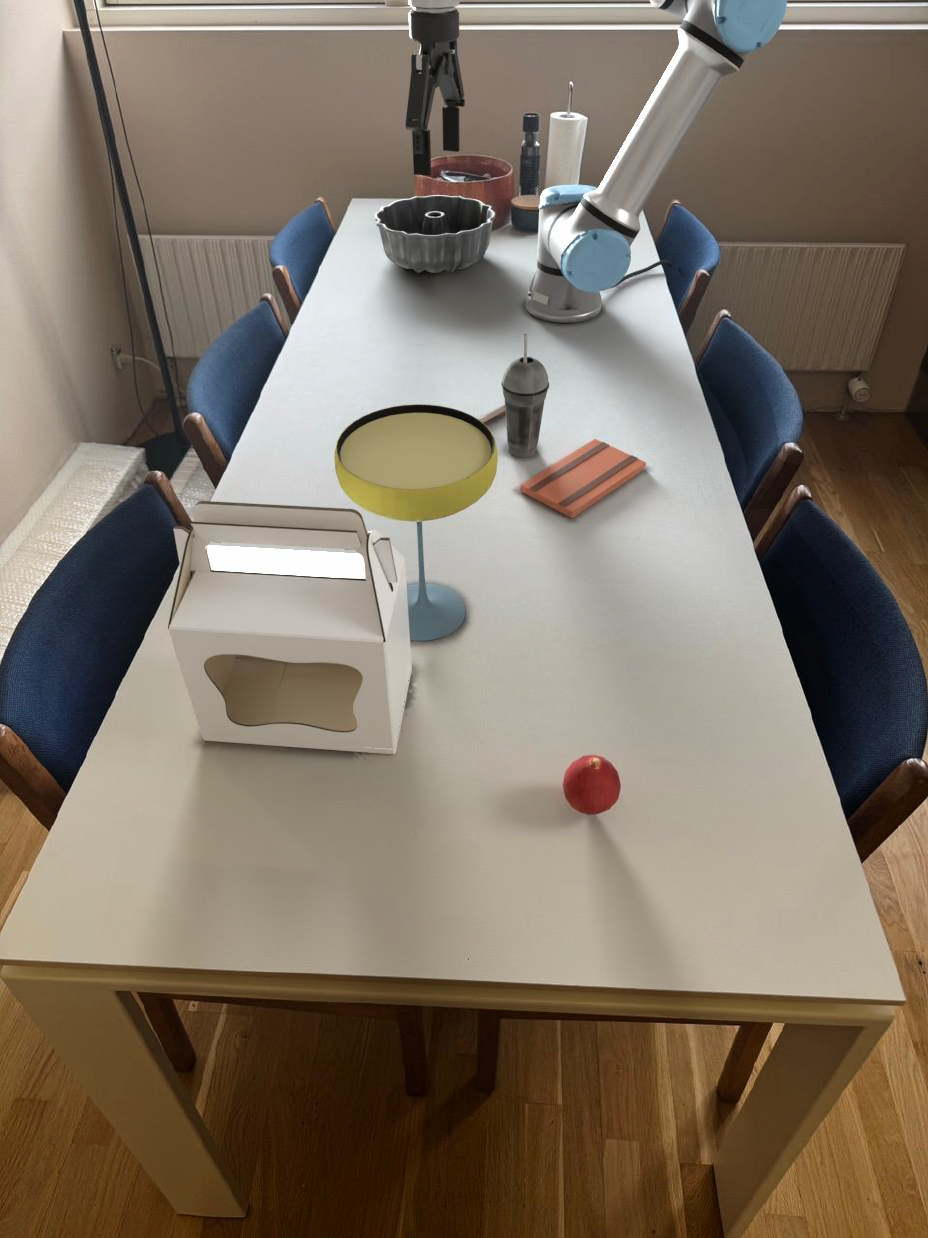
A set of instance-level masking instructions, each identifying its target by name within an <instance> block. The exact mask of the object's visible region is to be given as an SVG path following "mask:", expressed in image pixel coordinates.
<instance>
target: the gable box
mask: <svg viewBox="0 0 928 1238" xmlns="http://www.w3.org/2000/svg"><path fill="white" fill-rule="evenodd" d="M192 513H193V515H192V516H193V521H190V525H191V526H190V529H188V528H187V527H186V526H184V525H174V527H173V534H174V539H175V545H176V551H177V552H176V553H177V558H178V562H179V572H178V577H177V581H176V585H175V586H176V587H175V591H174V595H173V601H172V604H171V610H170V615H169V618H168V625H167V630H168V633H169V637H170V640H171V642H172V645H173V649H174V653H175V655H176V658H177V659H176V660H177V662H178V664H179V668H180V671H181V674H182V678H183V681H184V684H185V687H186V690H187V694H188V697H189V700H190V703H191V707H192V710H193V713H194V715H195V719H196V722H197V725H198V728H199V732H200V734H201V738H202V739H203V740H204V741H207V742H221V743H232V744H245V745H246V744H249V745H260V746H273V747H290V748H299V749H300V748H301V749H302V748H303V749H315V750H331V751H341V752H354V753H355V752H357V753H370V754H382V755H383V754H384V755H395V754H396V753H397V750H398V749H397V748H398V744H399V738H400V734H401V728H402V722H403V717H404V712H405V707H406V702H407V698H408V697H407V696H408V692H409V687H410V681H411V676H412V670H413V668H412V667H413V666H412V649H411V640H410V632H409V616H408V600H407V586H408V585H407V572H406V571H407V570H406V569H407V568H406V558H405V557H404V556H403V554H401V552H399V551H398V550H397V549H396V548H395V547H394V546H393V545H392V543H391V537H385V536H383V535H382V533H380V532H379V531H378V530H377V529H376V528H374V529H370V530H369V531H368V530H367V527H366V524H365V520H364V518H363V515H362V514H361V513H360V511H358V510H356V509H354V508H344V507H343V508H341V507H323V506H322V507H321V506H306V505H305V506H303V505H286V504H269V503H268V504H266V503H265V504H264V503H248V502H231V501H230V502H229V501H211V500H200V501H198V502H196V503H195V505H194V507H193V509H192ZM210 543H217V544H221V543H227V544H228V543H229V544H244V545H245V544H247V545H261V546H263V545H264V546H265V545H266V546H282V547H297V548H298V547H301V548H314V549H315V548H316V549H317V548H318V549H333V550H334V549H335V550H344V551H356V553H347V552H346V553H345V552H329V551H313V550H312V551H311V550H294V549H280V548H279V549H278V548H277V549H275V548H261V547H243V546H241V547H240V546H227V545H226V546H225V545H209V544H210ZM408 680H409V681H408ZM404 701H405V702H404ZM403 706H404V707H403ZM402 711H403V712H402ZM401 716H402V717H401ZM400 721H401V722H400ZM399 726H400V727H399ZM398 731H399V733H398ZM397 736H398V738H397ZM396 741H397V743H396ZM336 745H337V746H336ZM346 746H350V747H346ZM351 746H354V747H351ZM395 746H396V748H395ZM360 747H372V748H360ZM374 748H388V749H390V748H392V749H393V748H395V749H394V750H387V749H374Z"/></svg>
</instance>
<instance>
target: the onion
mask: <svg viewBox="0 0 928 1238" xmlns="http://www.w3.org/2000/svg"><path fill="white" fill-rule="evenodd" d="M621 786H622V784H621V779H620V775H619V772H618V770H617V769H616V767H615V766H614V765H613V763H612V762H611V761H609V760H608V759H606V758H605V757H604V756H601V755H597V754H588V755H587V754H586V755H582V756H581V757H579V758H577V759H575V760H574V761H572V762H571V763H570V764H569V766H568V767H567V768H566V770H565V771H564V776H563V780H562V790H563V795H564V798H565V800H566V801H567V803H568V804H569V805H570V806H571V807H572V809H574V810H575V811H577V812H579V813H581V814H584V815H588V816H593V815H600V814H601V813H605V812H606V811H608V810H610V809H611V808H612V807H613V806H615V804H616V803H617V802H618V800H619V797H620V793H621V788H622V787H621Z"/></svg>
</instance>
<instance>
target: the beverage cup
mask: <svg viewBox="0 0 928 1238" xmlns="http://www.w3.org/2000/svg"><path fill="white" fill-rule="evenodd" d="M501 387H502V388H501V389H502V395H503V399H504V405H505V412H506V415H505V427H506V440H507V441H506V442H507V446H508V448H507V449H508V450H507V451H508V452H509V454H510V455H512V456H514V457H519V458H528V457H532V456H533V455H535V454H536V453H537V450H538V449H537V448H538V444H539V438H540V433H541V426H542V420H543V413H544V408H545V407H544V406H545V400H546V398H547V395H548V389H550V381H549V374H548V372H547V369H546V368H545V366H544V364H543V363H542V362H541V361H540V360H538V359H536V358H534V357H532V356H528V333H523V356H521V357H518V358H515V359H514V360H512V361H511V362H510V363H509V364H508V365H507V367H506V368H505V370H504V373H503V377H502V381H501Z"/></svg>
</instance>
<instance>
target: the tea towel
mask: <svg viewBox="0 0 928 1238" xmlns="http://www.w3.org/2000/svg"><path fill="white" fill-rule="evenodd" d="M646 465H647V461H644V460H642V459H640V458H638V456H635V455H632V454H630V453H627V452H625V451H623V450H621V449H618V448H616V447H614V446H611V445H610V444H609V443H607V442H604V441H601V440H598V439H596V438H594V439H592V440H590V441H589V442H588V443H586V444H584V445H583V446H581V447H579V448H578V449H576V450H575V451H573V452H571V453H569V454H568V455H566V456H565V457H564V458H561V459H560V460H559V461H557V462H555V463H554V464H552V465H551V466H548V467H547V468H546V469H544V470H542V471H541V472H539V473H538V474H536V475H534V476H532V477H531V478H530V479H528V480H526V481H525V482H523V483H522V484H520V492H521V493H523V494H525V495H527V496H529V497H530V498H533V499H534V500H536V501H538V502H540V503H542V504H544V505H545V506H548V507H549V508H551V509H553V510H555V511H557V512H559V513H561V514H562V515H564V516H567V517H568V518H569V519H574V518H575V517H577V516H578V515H579V514H581V513H582V512H584V511H586V510H587V509H588V508H590V507H592V506H593V505H594V504H595V503H597V502H599V501H600V500H601V499H603V498H605V497H607V496H608V495H609V494H611V493H612V492H614V491H615V490H617V489H618V488H620V487H621V486H622V485H624V484H625V483H626V482H629V480H631V479H632V478H634V477H635V476H637V475H638V474H640V473H641V472H643V471H644V470H645V469H646Z"/></svg>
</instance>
